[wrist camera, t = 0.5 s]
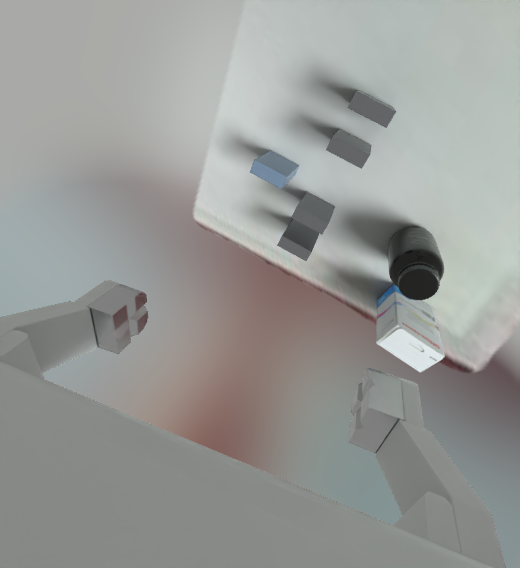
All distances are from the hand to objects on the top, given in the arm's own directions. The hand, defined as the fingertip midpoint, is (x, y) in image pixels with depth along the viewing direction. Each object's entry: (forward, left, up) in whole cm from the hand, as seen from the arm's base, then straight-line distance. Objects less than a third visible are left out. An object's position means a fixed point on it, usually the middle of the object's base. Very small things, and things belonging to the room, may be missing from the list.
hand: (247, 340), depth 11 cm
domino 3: (+14, 0, -43) cm, 45 cm away
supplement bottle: (+8, +16, -43) cm, 46 cm away
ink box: (+17, +22, -43) cm, 51 cm away
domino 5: (-6, 0, -43) cm, 43 cm away
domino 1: (+6, -8, -43) cm, 44 cm away
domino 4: (-1, 0, -43) cm, 43 cm away
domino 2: (+9, 0, -43) cm, 43 cm away
